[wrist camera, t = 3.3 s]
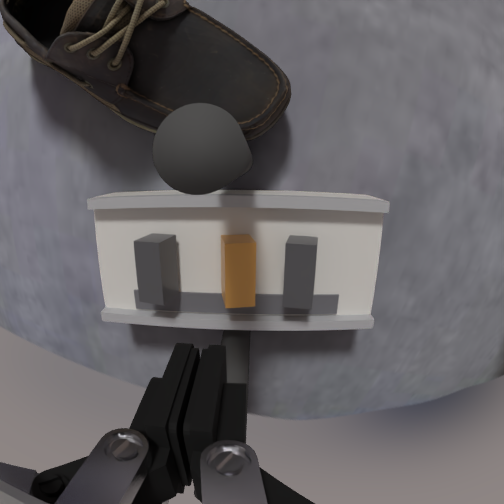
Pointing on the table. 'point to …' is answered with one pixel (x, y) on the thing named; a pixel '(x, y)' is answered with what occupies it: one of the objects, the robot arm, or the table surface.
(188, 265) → the breaker panel
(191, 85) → the boat shoe
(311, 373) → the table surface
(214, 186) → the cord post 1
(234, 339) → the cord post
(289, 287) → the grey block
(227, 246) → the rectangular block
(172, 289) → the grey block
